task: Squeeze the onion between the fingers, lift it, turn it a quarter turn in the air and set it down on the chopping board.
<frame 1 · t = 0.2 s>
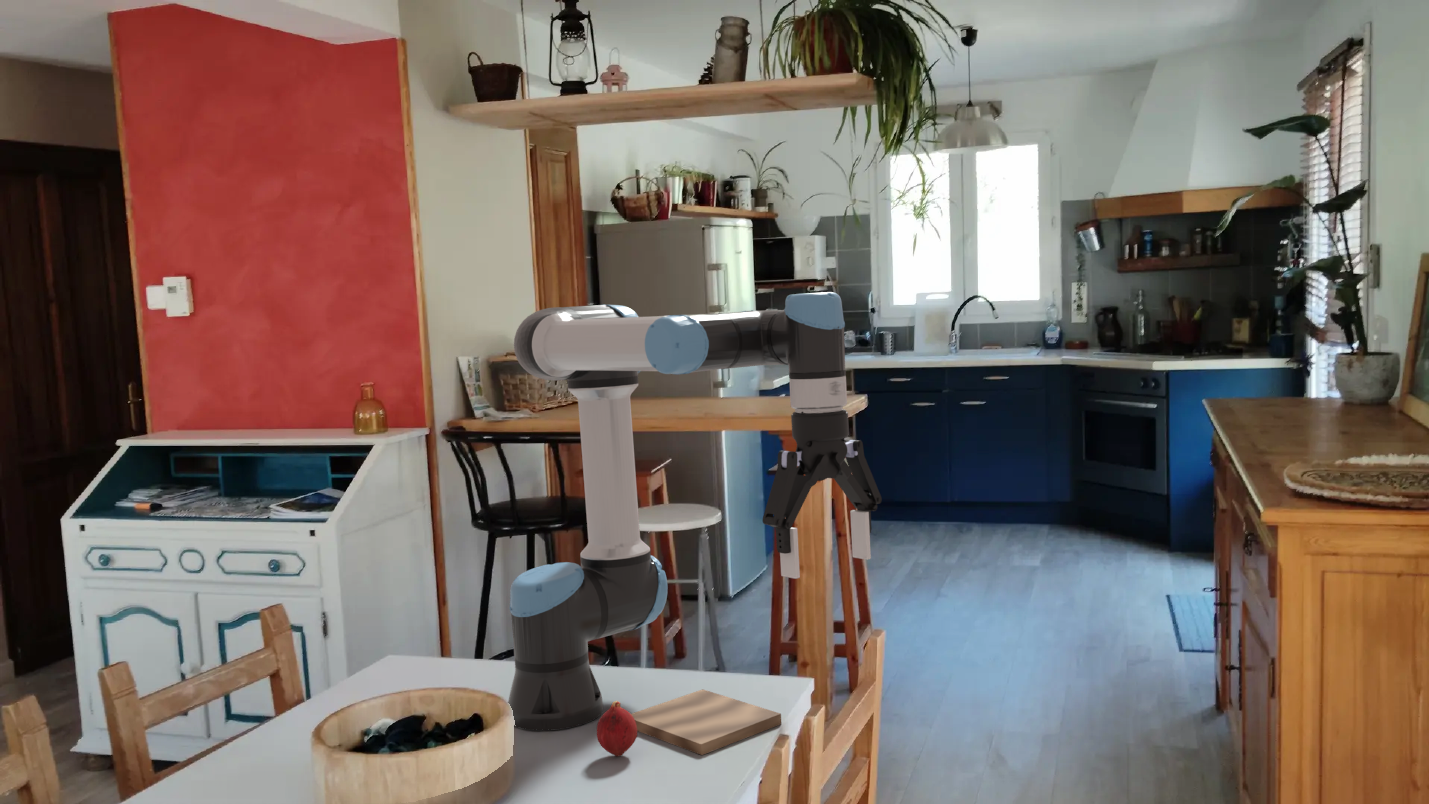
hand: (827, 567, 155), 28 cm above the table, fingers open, 13 cm apart
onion: (618, 757, 166), on the table
chopping board: (702, 725, 177), on the table
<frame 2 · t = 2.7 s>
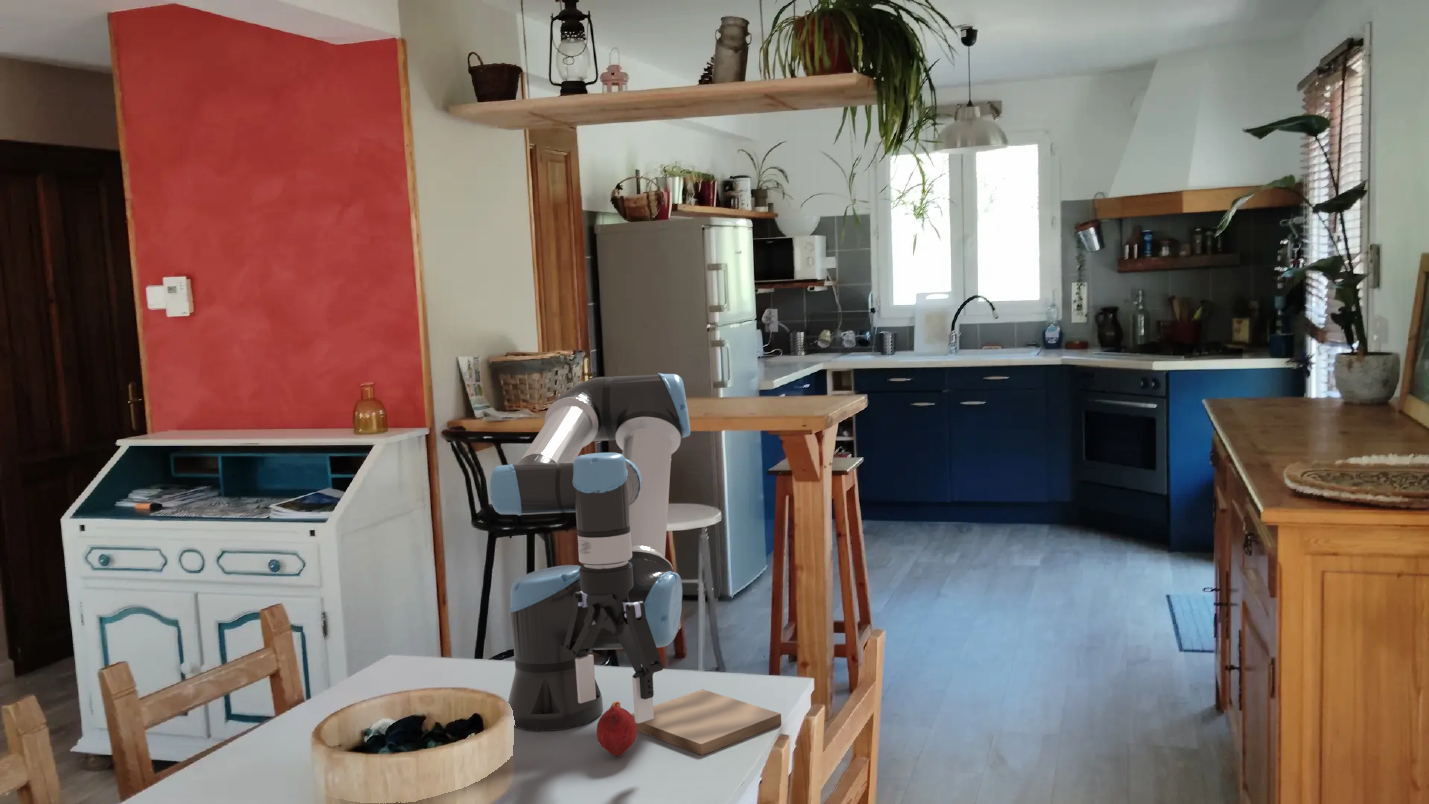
hand: (614, 710, 165), 7 cm above the table, fingers open, 13 cm apart
nothing on the table moved.
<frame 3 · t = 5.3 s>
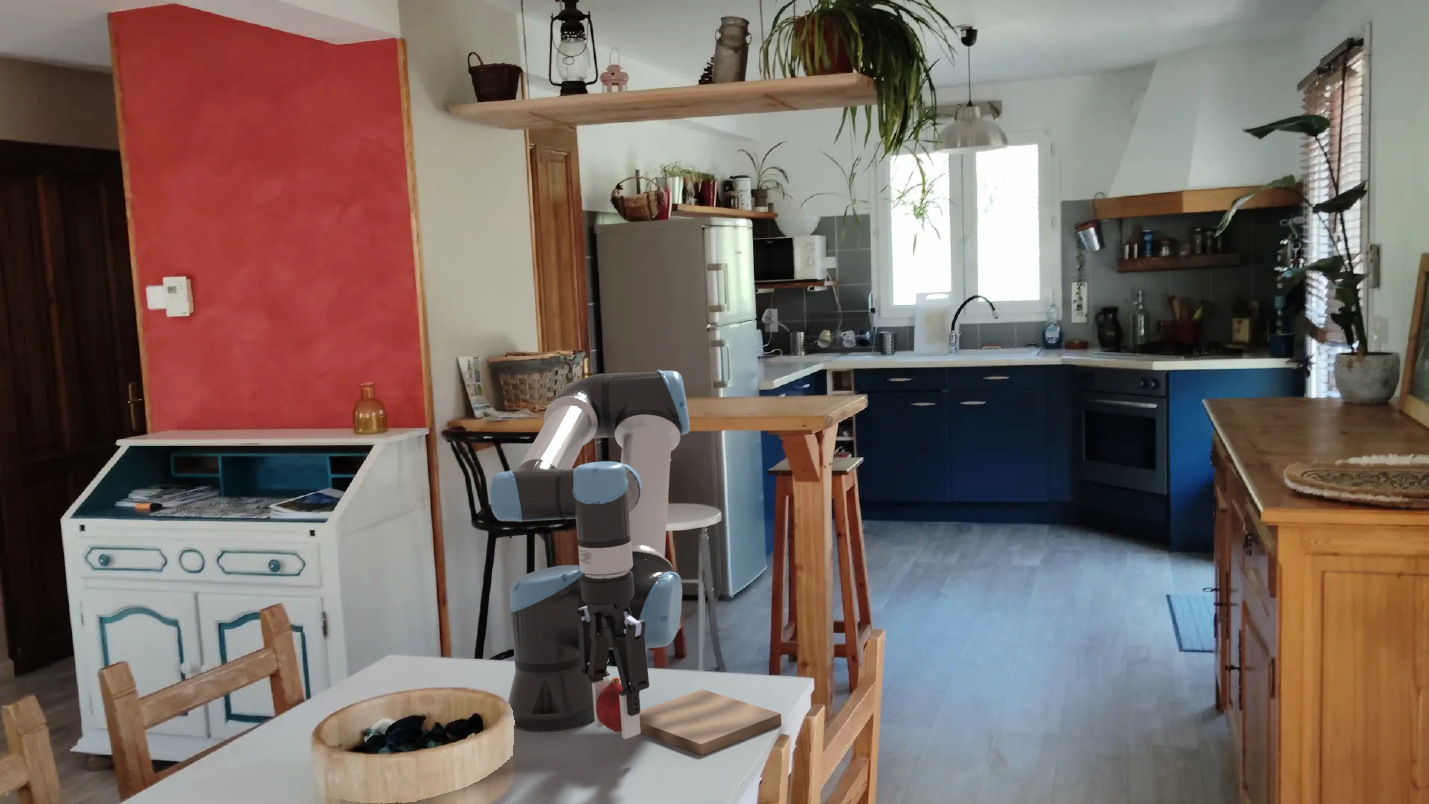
hand: (617, 729, 166), 4 cm above the table, fingers closed on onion, 6 cm apart
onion: (618, 733, 166), point 3 cm above the table, touching gripper
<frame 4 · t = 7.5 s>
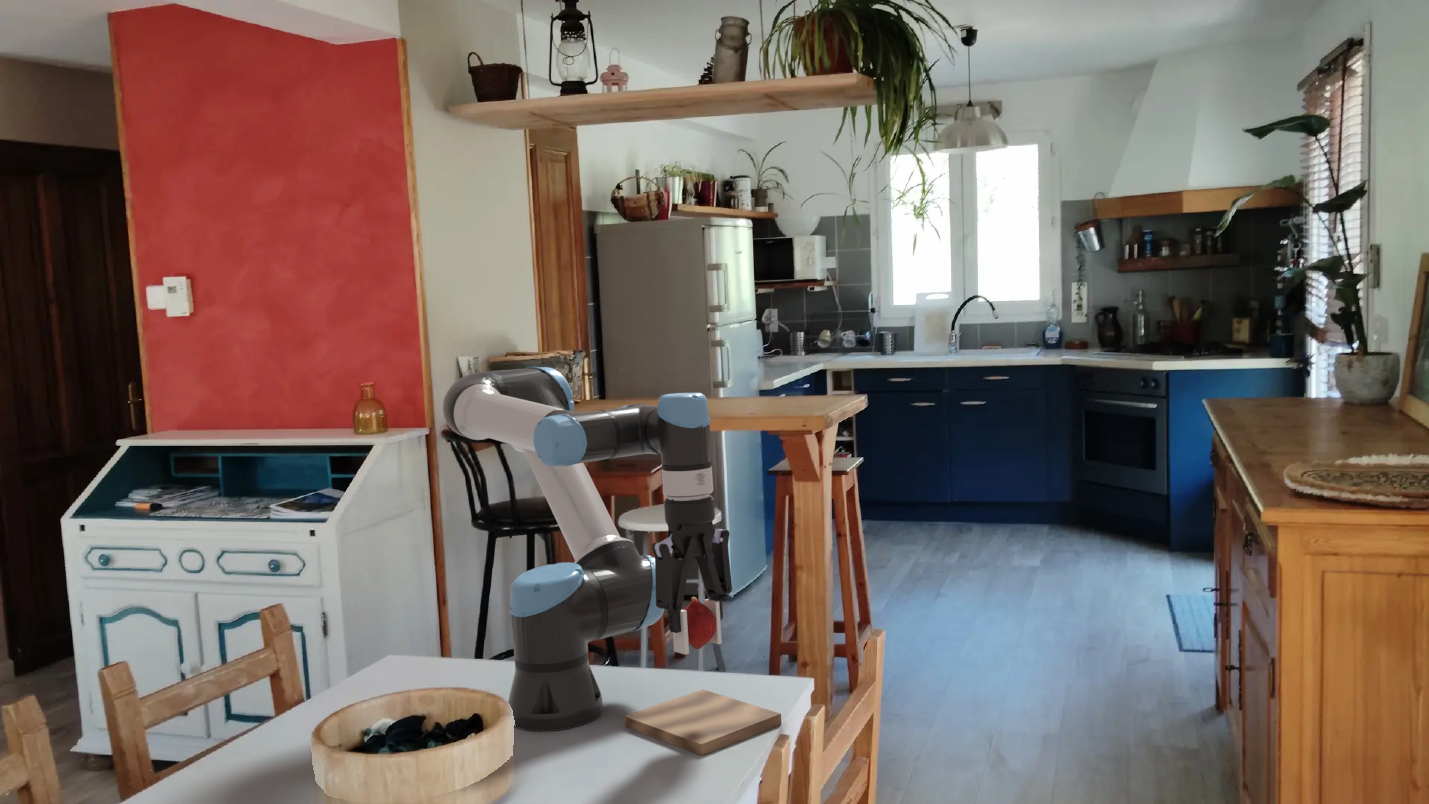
hand: (697, 647, 176), 12 cm above the table, fingers closed on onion, 6 cm apart
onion: (698, 650, 176), point 12 cm above the table, touching gripper
when the fingers open (3 cm above the table, at t = 9.8 s): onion stays where it is, resting on chopping board.
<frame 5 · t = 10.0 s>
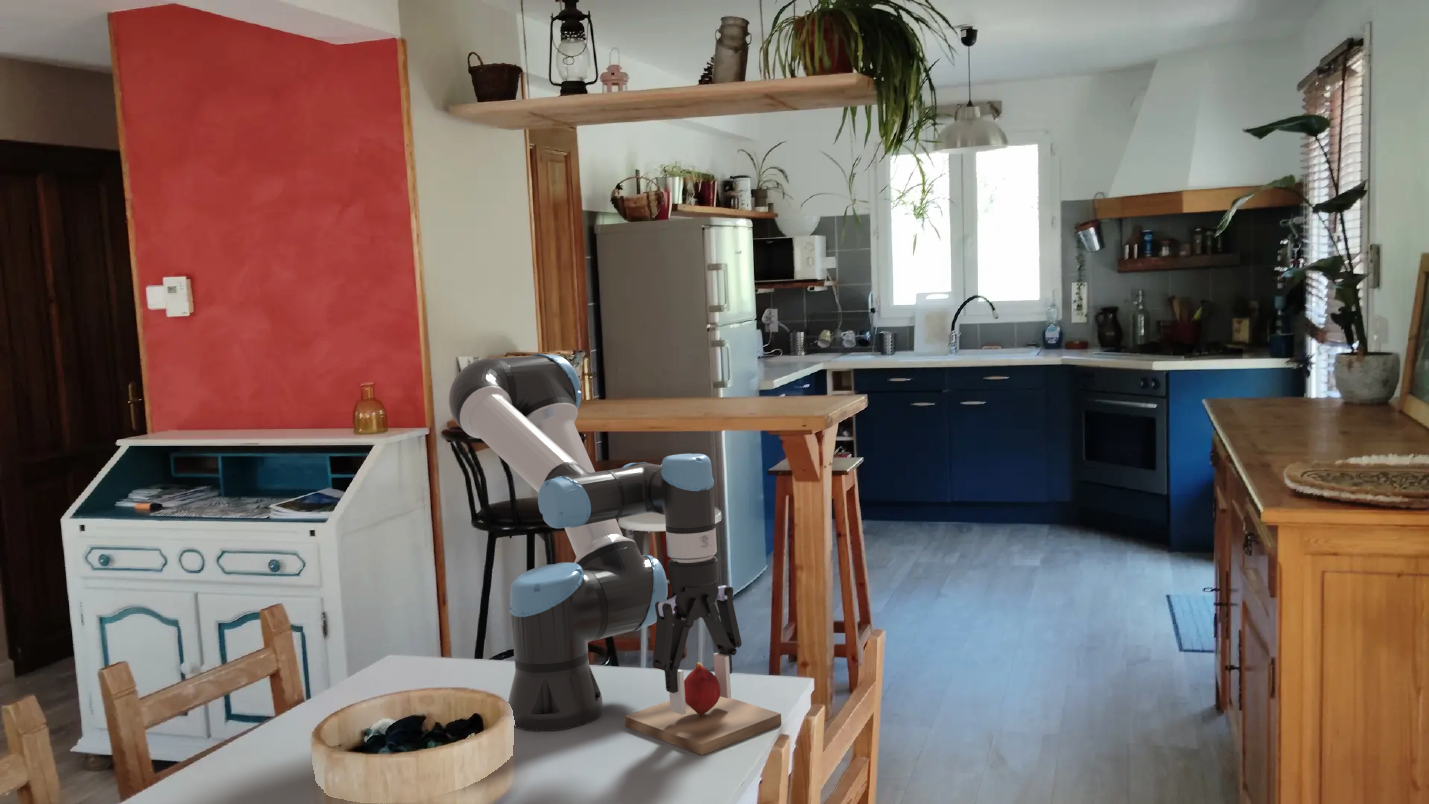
hand: (701, 703, 176), 3 cm above the table, fingers open, 8 cm apart
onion: (702, 715, 177), point 1 cm above the table, touching chopping board
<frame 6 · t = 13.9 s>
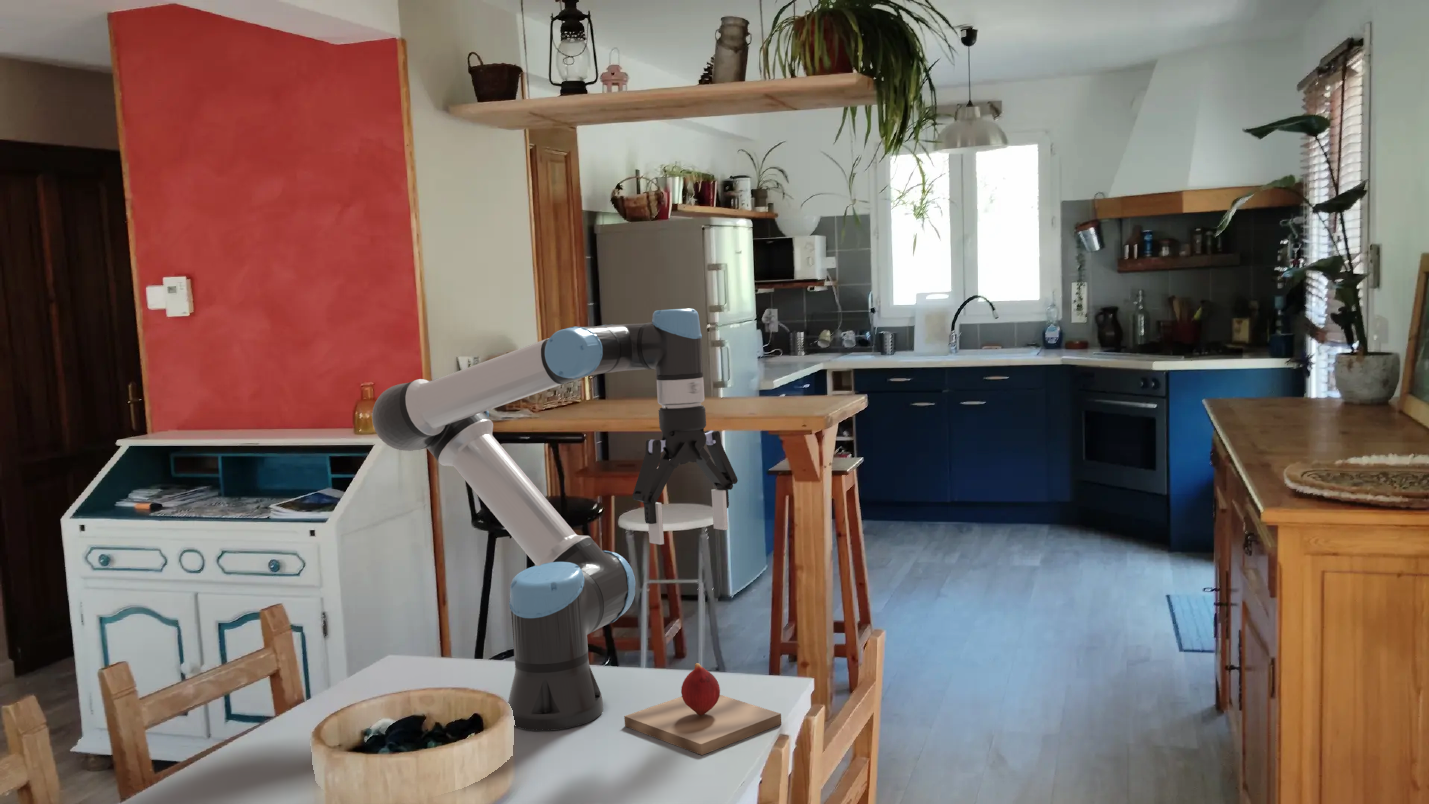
hand: (689, 536, 187), 27 cm above the table, fingers open, 13 cm apart
nothing on the table moved.
at the end: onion inside the target area on the chopping board (0.0 cm from its centre), point 1.4 cm above the chopping board's base; the gripper is holding nothing; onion moved 16.1 cm from its start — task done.
